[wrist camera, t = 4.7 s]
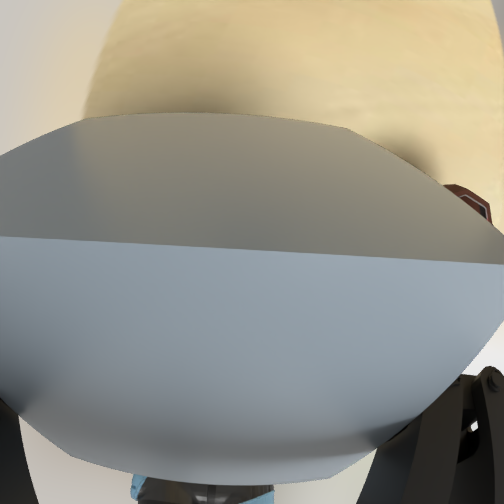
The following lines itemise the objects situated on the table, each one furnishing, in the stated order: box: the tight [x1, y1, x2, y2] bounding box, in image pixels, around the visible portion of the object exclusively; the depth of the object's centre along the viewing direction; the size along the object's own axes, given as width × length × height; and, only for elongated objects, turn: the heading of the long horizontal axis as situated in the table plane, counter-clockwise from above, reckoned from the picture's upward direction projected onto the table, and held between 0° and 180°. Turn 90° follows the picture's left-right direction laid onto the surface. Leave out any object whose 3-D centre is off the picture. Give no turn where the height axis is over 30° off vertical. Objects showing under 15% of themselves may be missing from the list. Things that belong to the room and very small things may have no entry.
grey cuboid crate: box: [0, 112, 504, 485], centre depth 8 cm, size 10×10×9 cm
